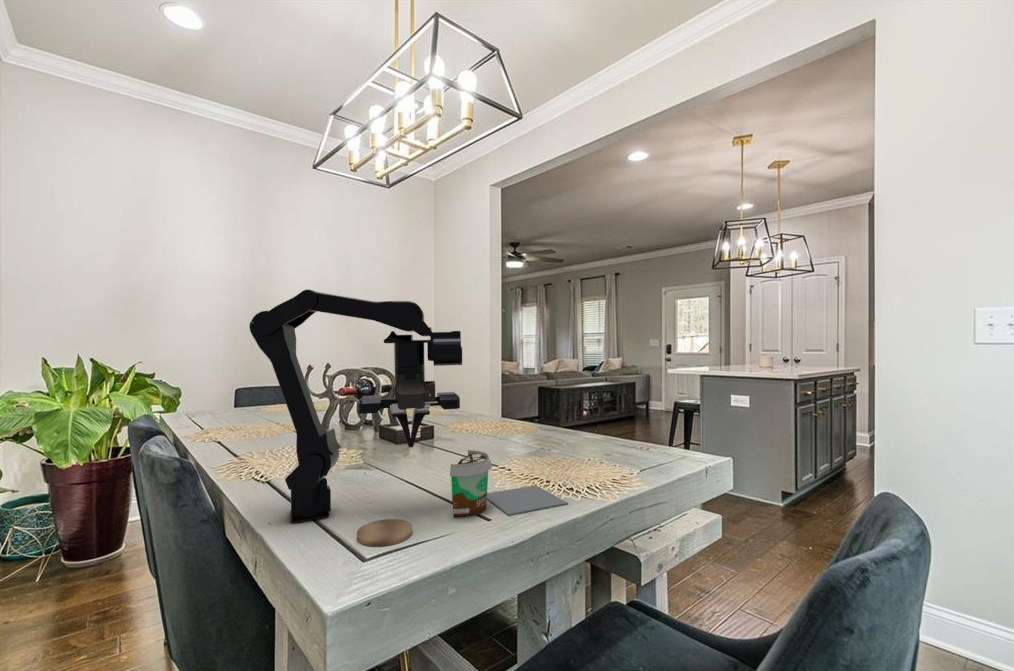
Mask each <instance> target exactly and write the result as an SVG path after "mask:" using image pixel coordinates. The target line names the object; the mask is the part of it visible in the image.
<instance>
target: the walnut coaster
mask: <svg viewBox="0 0 1014 671" xmlns="http://www.w3.org/2000/svg"><path fill="white" fill-rule="evenodd" d="M412 535H413V524H412V522H410V521H408V520H405V519H399V518H385V519H379V520H374V521H370V522H368V523H365V524H364V525H362V526H360V527H359V528H358V529H357V531H356V540H357V542H358V543H359V544H361V545H363V546H367V547H375V546H379V547H387V545H389V546H393V545H397V544H399V543H403V542H404V541H407V540H408V539H409V538H411V537H412Z"/></svg>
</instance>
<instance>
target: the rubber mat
mask: <svg viewBox="0 0 1014 671" xmlns="http://www.w3.org/2000/svg"><path fill="white" fill-rule="evenodd" d="M487 501H488V502H489V503H491V504H492V505H493V506H495V507H496V508H497V509H498V510H500V511H501V512H503V513H504V514H505V515H506V516H508V517H510V516H514V515H515V516H516V515H519V514H525V513H530V512H536V511H542V510H545V509H551V508H557V507H561V506H565V505H569V502H567V501H566V500H564V499H562V498H560V497H558V496H557V495H555V494H553V493H551V492H549V491H547V490H546V489H544V488H542V487H540V486H538V485H537V484H535V485H528V486H524V487H523V486H522V487H517V488H510V489H505V490H499V491H492V492H487Z"/></svg>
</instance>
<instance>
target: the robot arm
mask: <svg viewBox="0 0 1014 671" xmlns="http://www.w3.org/2000/svg"><path fill="white" fill-rule="evenodd" d="M318 312H319V313H325V314H331V315H336V316H345V317H348V318H349V317H350V318H356V319H362V320H368V321H369V320H370V321H375V322H377V323H381V324H383V325H386V326H389V327H391V328H394V329H397V330H400V331H404V332H407V333H409V332H410V333H412V332H414V333H416V334H417V335H419V336H420V337H430V339H413V338H414V337H413V334H397V333H396V332H395V331H394V330H392V331H391V332H390V333H389V334H388V336H387V337H386V338H384V339H383V343H384V344H393V345H394V346H393V349H394V350H393V352H394V354H393V355H394V356H393V357H394V398H382V394H377V395H376V394H375V395H374V394H373V395H363V396H362V397H361V398H360V399H359V401H358V414H362V415H363V414H364V415H366V414H367V415H368V414H377V413H378V412H379V411H380V410H381V409H390V417H393V418H394V417H396V418H397V420H398V422H399V423H400V426H401V429H402V430H403V433H404V437H405V440H406V442H407V446H408V448H414V445H415V442H416V439H417V435H418V432H419V429H420V425H421V424H422V421H423V419H424V418H425V416H429V415H430V414H431V410H430V409H431V407H438V406H439V407H441V408H442V409H443V410H446V411H447V410H459V409H460V408H461V400H460V396H459V394H457V393H456V392H454V391H449V392H446V391H445V392H442V391H441V392H436V382H435V380H426V379H425V376H426V374H425V370H426V369H425V366H426V365H425V343H426V344H427V350H426V351H427V362H428V361H429V362H433V367H435V366H437V367H439V366H441V367H443V366H463V347H462V338H461V336H462V334H461V333H462V332H461V330H452V331H433V330H432V327H429V325H428V324H427V323H426V322H425V314H424V310H423V309H422V308H421V307H420V306H419V304H417V303H416V302H415V301H410V300H388V301H373V300H367V299H361V298H356V297H355V298H354V297H348V296H343V295H336V294H331V293H325V292H319V291H315V290H313V289H304V290H301V292H300V293H298V294H297V295H295V296H293V297H291V298H289V299H288V300H286V301H284V302H282V303H279V304H277V305H275V306H274V307H273V308H271V309H269V310H263V311H259V312H258V313H256V314H254V316H253V317H252V319H251V321H250V322H249V332H250V334H251V336H252V338H253V339H254V341H255V343H256V344H257V346H258V348H259V349H260V350H261V351H262V353H263V354H264V355H265V356H266V358H267V359H268V360H269V361H270V363H271V365H272V368H273V371H274V373H275V376H276V379H277V382H278V385H279V387H280V390H281V393H282V396H283V399H284V401H285V404H286V407H287V410H288V412H289V416H290V418H291V421H292V424H293V426H294V430H295V432H296V433H295V434H296V458H297V465H298V466H296V467H295V468H294V470H292V472H290V473H289V474H288V475H287V476H286V477H285V479H284V480H285V483H286V486H287V488H288V490H289V491H290V510H289V516H290V519H289V520H290V524H295V523H302V522H307V521H314V520H318V519H326V518H329V516H330V511H331V510H332V504H331V503H332V499H331V498H332V497H331V496H332V495H331V494H332V492H331V487H330V485H328V479H327V476H328V474H329V471H330V470H331V469H332V468H333V467H334V466H335V465H336V463H337V462H338V460H339V458H340V451H339V450H340V449H341V448H342V445H341V444H340V443H339V442H338V440H337V435H336V430H335V429H334V428H331V429H328V430H327V429H326V428H325V427H324V426H323V425H322V423H321V420H320V418H319V415H318V413H317V410H316V406H315V404H314V401H313V398H312V396H311V392H310V390H309V387H308V385H307V382H306V379H305V376H304V374H303V370H302V368H301V365H300V363H299V360H298V357H297V356H298V355H297V336H296V328H298V327H300V326H302V325H303V324H304V323H305V322H306V321H307V320H309V318H310V317H311V316H313V315H314V314H316V313H318ZM407 409H409V410H410V409H413V412H412V420H411V422H412V423H411V430H410V425H409V420H408V413H407V412H408V411H407Z"/></svg>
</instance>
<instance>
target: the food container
mask: <svg viewBox="0 0 1014 671" xmlns="http://www.w3.org/2000/svg"><path fill="white" fill-rule="evenodd" d="M492 465H493V464H492V461H491V458H490V457H489V454H488V453H486V452H484V451H479V450H473V449H471V450H467V455H466V456H465V457H464V458H461V459H460V460H459V461H458V463H457V464H453V463H451V464H450V469H449V477H450V478H451V479H450V480H451V481H450V482H451V498H452V499H451V500H452V502H451V503H452V517H453V519H454V518H455V519H456V518H457V519H461V518H469V517H470V518H471V517H476V516H478V515H480V514H483V513H485V511H486V510H487V503H488V502H487V501H488V500H487V493H488V483H489V482H488V480H489V471H490V470H491V469H492V467H493V466H492Z"/></svg>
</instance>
